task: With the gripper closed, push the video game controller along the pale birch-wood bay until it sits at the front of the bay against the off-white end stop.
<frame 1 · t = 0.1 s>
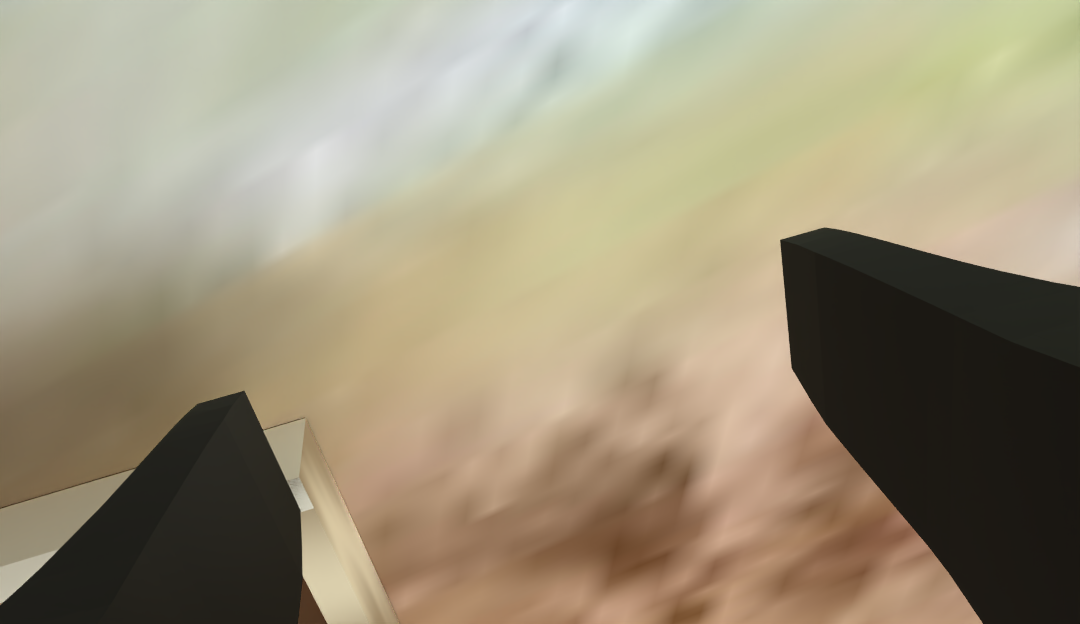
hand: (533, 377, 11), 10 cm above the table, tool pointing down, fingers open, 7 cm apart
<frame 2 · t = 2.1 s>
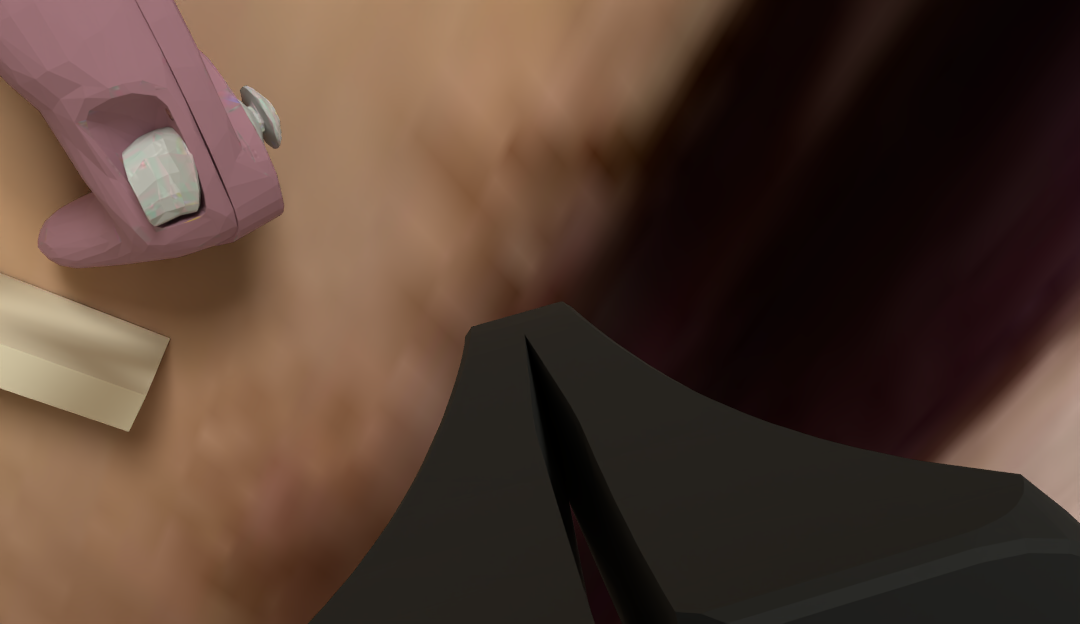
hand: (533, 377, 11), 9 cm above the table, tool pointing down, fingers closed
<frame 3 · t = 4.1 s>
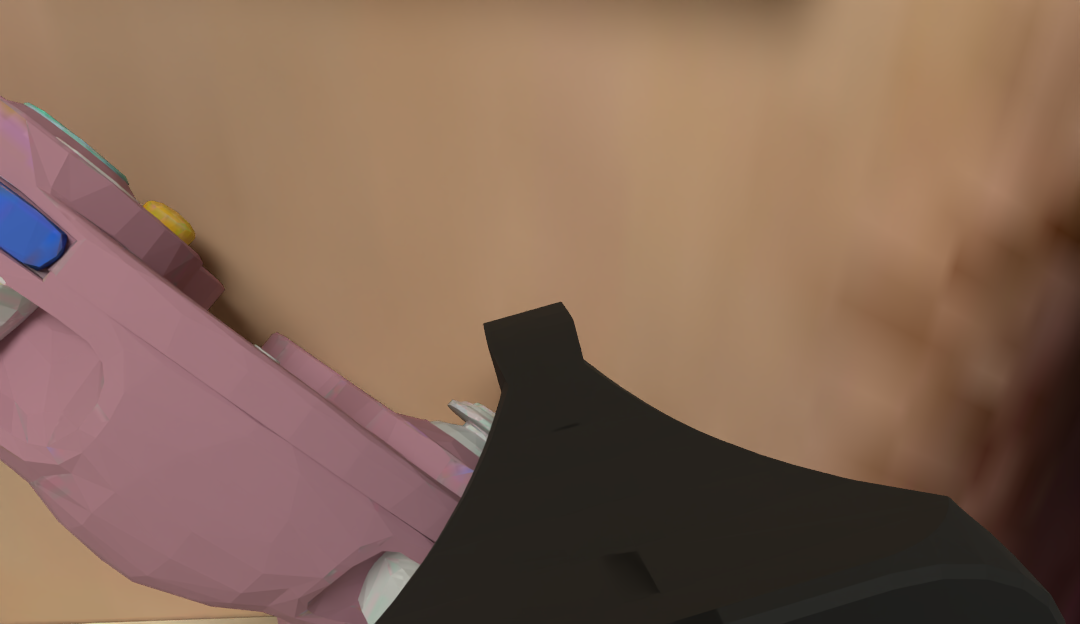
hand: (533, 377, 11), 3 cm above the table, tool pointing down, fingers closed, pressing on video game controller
video game controller: (208, 321, 13), on the table, touching bay, gripper
bay: (264, 275, 13), on the table
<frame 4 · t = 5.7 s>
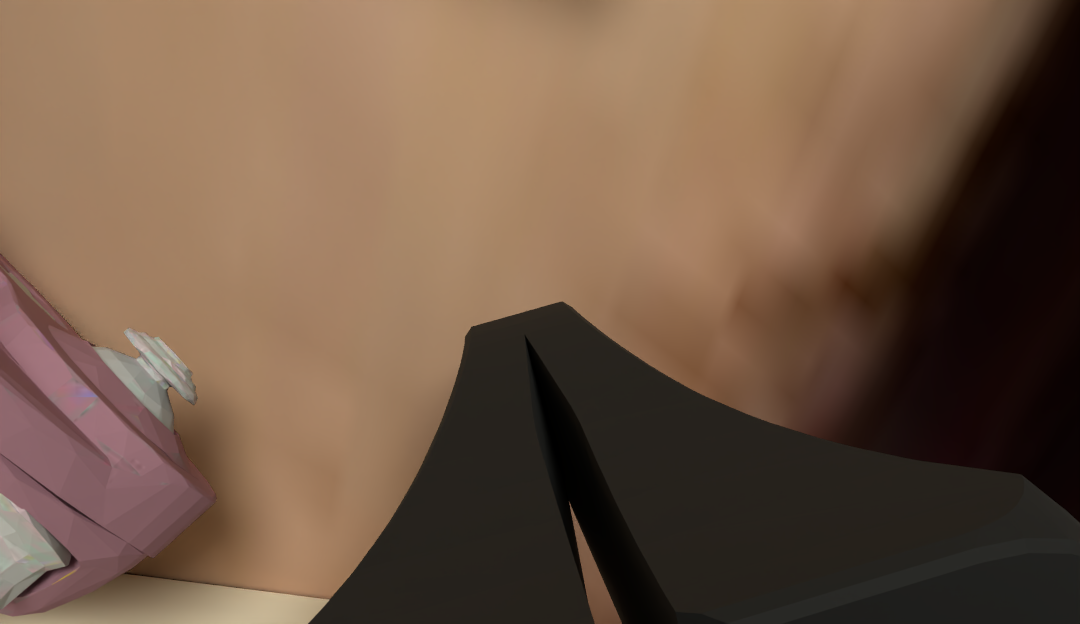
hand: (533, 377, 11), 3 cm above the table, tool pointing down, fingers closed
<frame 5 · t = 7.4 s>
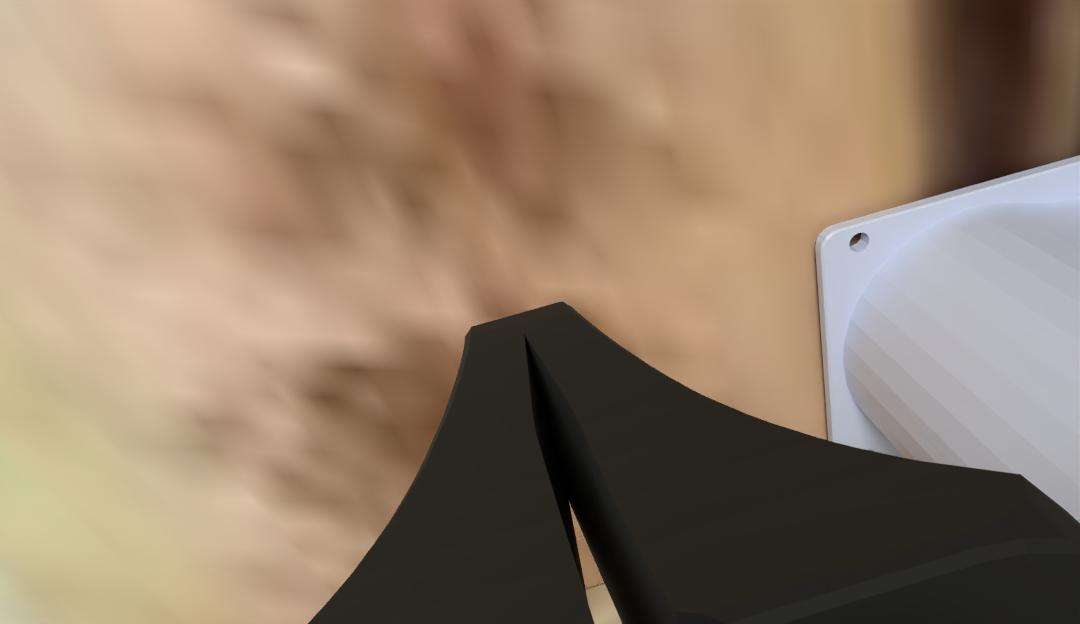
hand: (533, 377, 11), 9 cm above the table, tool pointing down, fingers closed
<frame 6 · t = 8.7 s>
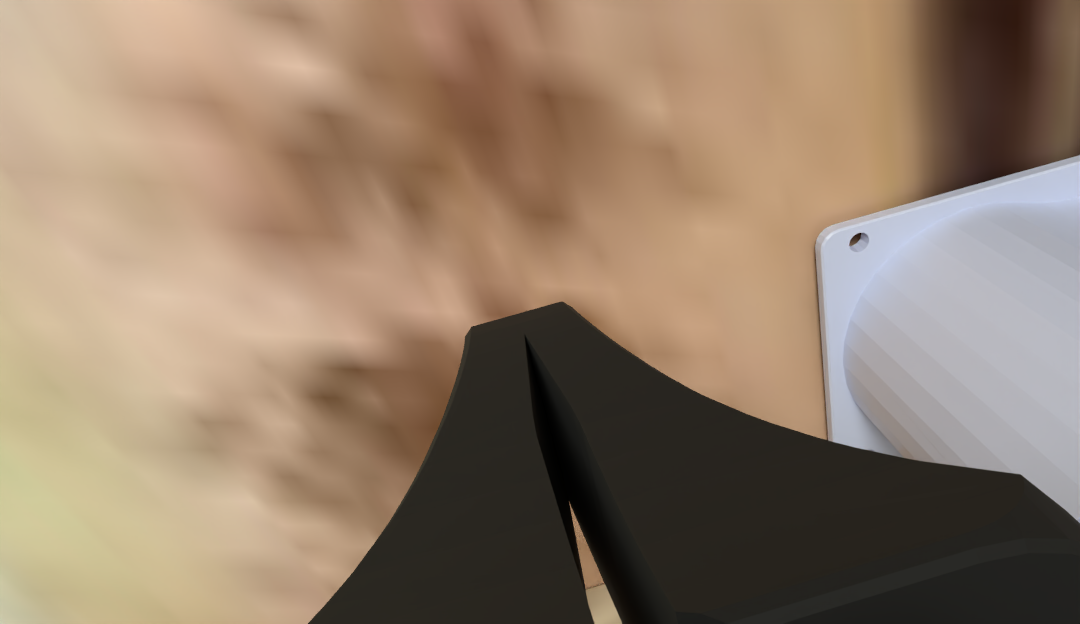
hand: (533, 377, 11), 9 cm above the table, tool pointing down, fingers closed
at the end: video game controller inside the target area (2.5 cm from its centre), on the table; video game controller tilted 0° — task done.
